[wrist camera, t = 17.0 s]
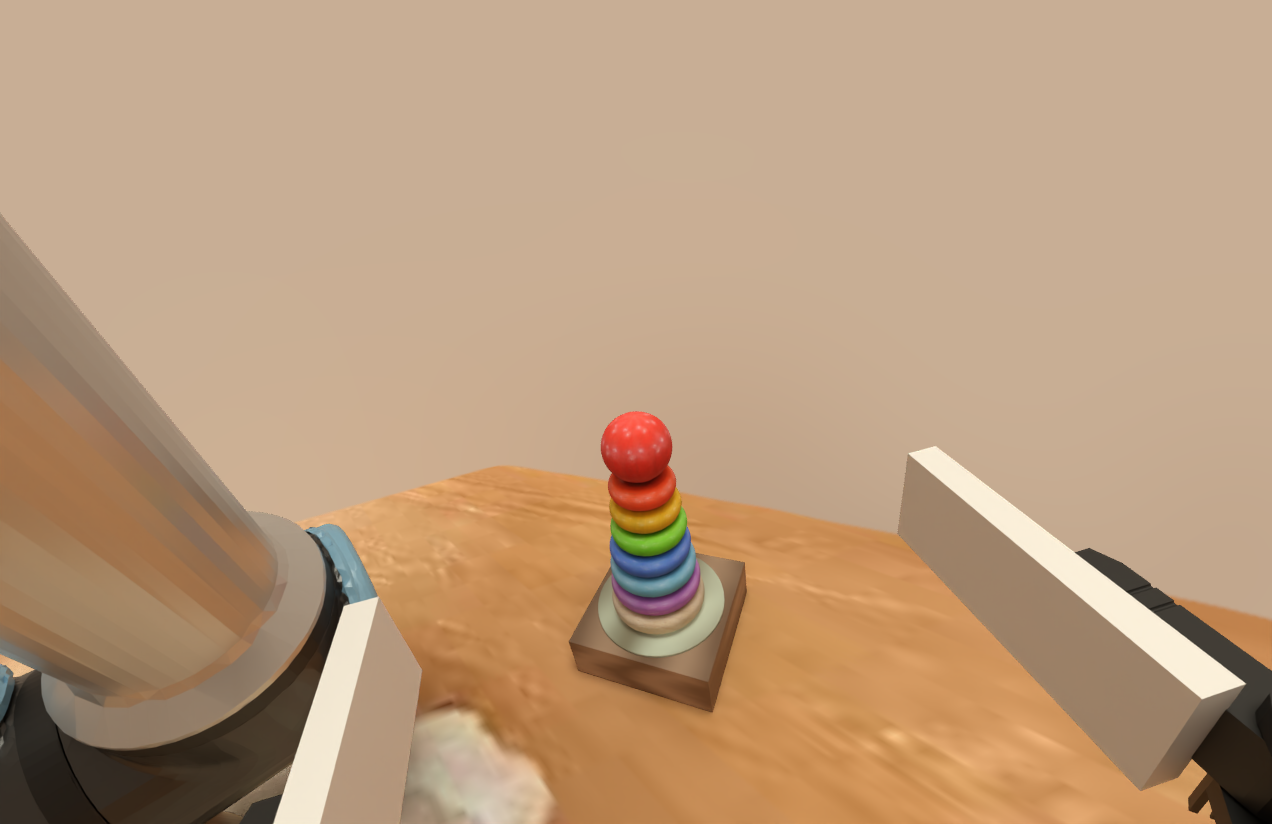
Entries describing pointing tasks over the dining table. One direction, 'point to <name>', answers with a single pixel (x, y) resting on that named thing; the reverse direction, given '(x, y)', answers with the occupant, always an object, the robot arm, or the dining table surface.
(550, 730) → the dining table surface
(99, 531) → the robot arm
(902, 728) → the dining table surface
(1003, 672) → the dining table surface
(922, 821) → the dining table surface
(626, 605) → the stacking toy
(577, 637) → the walnut plinth
